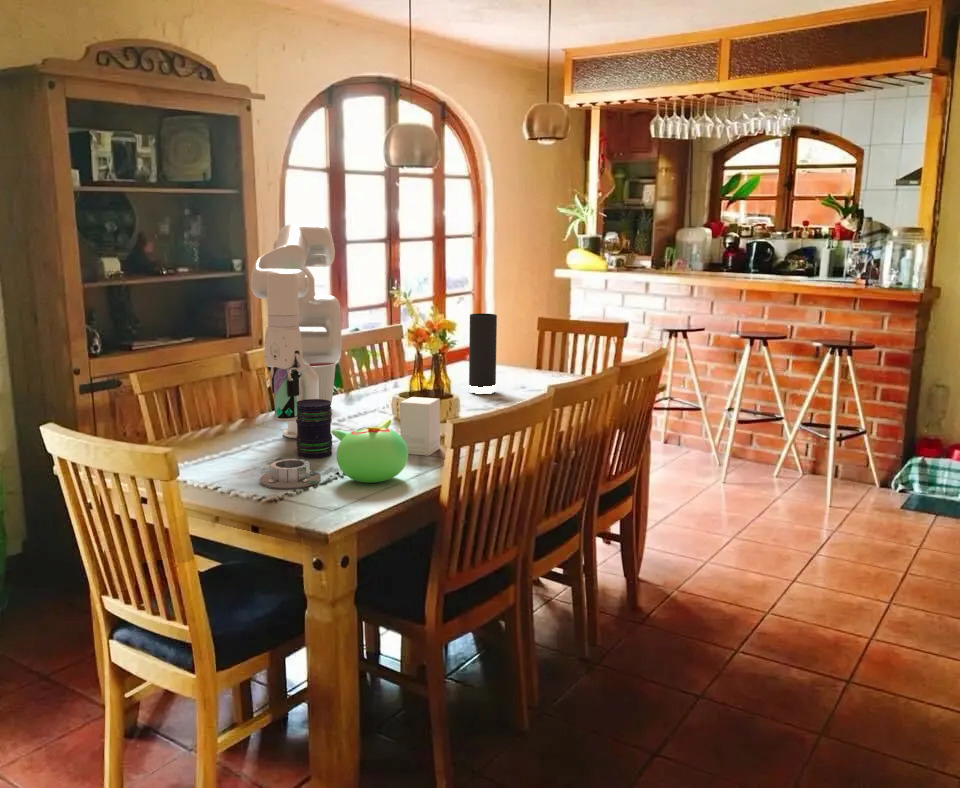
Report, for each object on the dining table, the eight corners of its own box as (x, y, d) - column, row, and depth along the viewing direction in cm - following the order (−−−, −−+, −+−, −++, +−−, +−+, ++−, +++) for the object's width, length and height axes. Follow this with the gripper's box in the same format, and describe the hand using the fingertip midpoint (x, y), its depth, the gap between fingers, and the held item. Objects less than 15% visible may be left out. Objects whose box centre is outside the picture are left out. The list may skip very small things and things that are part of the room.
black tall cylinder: (467, 390, 342) (468, 313, 336) (493, 389, 343) (494, 313, 337) (470, 395, 331) (471, 316, 326) (496, 394, 333) (498, 316, 327)
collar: (295, 468, 231) (295, 453, 230) (333, 479, 221) (332, 463, 221) (247, 480, 220) (247, 464, 219) (284, 493, 210) (284, 476, 209)
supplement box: (441, 448, 253) (441, 398, 250) (429, 456, 245) (429, 404, 242) (412, 446, 256) (412, 395, 253) (399, 453, 248) (399, 401, 245)
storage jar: (302, 461, 239) (300, 407, 236) (292, 452, 247) (290, 400, 244) (337, 456, 243) (336, 404, 240) (326, 448, 252) (325, 397, 249)
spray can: (276, 416, 222) (274, 338, 218) (298, 416, 222) (296, 338, 218) (273, 421, 216) (270, 341, 213) (295, 421, 217) (293, 341, 213)
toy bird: (346, 493, 210) (345, 434, 208) (329, 475, 226) (328, 419, 223) (416, 485, 218) (416, 428, 215) (395, 468, 233) (395, 414, 230)
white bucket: (346, 410, 302) (345, 350, 297) (297, 416, 292) (295, 354, 287) (325, 401, 316) (323, 344, 312) (277, 407, 306) (275, 347, 302)
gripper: (249, 320, 217) (252, 392, 221) (292, 325, 206) (294, 401, 210) (274, 318, 223) (277, 388, 226) (317, 323, 212) (319, 396, 215)
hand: (285, 393), depth 218 cm, fingers closed on spray can, 5 cm apart
